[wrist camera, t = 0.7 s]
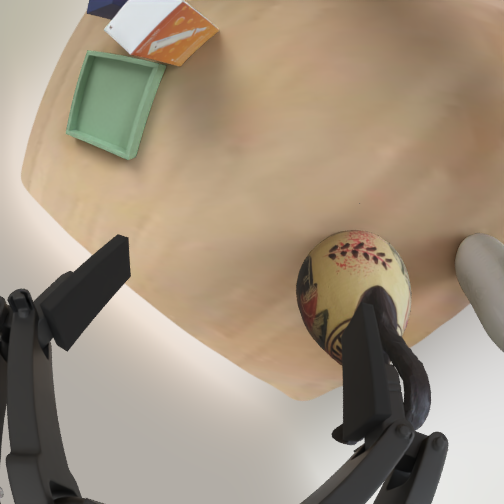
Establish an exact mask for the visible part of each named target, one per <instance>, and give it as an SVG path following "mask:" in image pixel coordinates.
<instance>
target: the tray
mask: <svg viewBox="0 0 504 504" xmlns="http://www.w3.org/2000/svg"><path fill="white" fill-rule="evenodd" d="M166 66H167V65H163V64H159V63H155V62H151V61H146V60H142V59H137V58H133V57H127V56H122V55H117V54H111V53H104V52H97V51H87V53H86V56H85V59H84V62H83V65H82V69H81V72H80V75H79V78H78V82H77V86H76V89H75V93H74V97H73V101H72V105H71V110H70V114H69V119H68V124H67V129H66V134H68V135H70V136H72V137H75V138H77V139H80V140H82V141H85V142H87V143H89V144H92V145H94V146H96V147H99V148H101V149H104V150H106V151H108V152H111V153H113V154H115V155H118V156H120V157H122V158H124V159H127V160H130V159H132V158H135V157H136V155H137V151H138V147H139V144H140V140H141V137H142V134H143V130H144V127H145V124H146V121H147V118H148V115H149V112H150V109H151V106H152V103H153V100H154V97H155V94H156V92H157V89H158V86H159V84H160V81H161V79H162V76H163V73H164V71H165V69H166Z"/></svg>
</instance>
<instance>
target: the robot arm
mask: <svg viewBox="0 0 504 504" xmlns="http://www.w3.org/2000/svg"><path fill="white" fill-rule="evenodd" d="M130 277H131V273H130V259H129V240H128V237H125V236H122V235H116V236H115V237H114V238H113V239H111V240H110V241H109V242H108V243H107V244H105V245H104V246H103V247H102V248H101V249H99V250H98V251H97V252H96V253H95V254H94V255H92V256H91V257H90V258H89V259H88V260H87V261H86V262H85V263H83V264H82V265H81V266H80V267H79V268H78V269H77V270H75V271H74V272H72V271H69V272H67V273H65V274H63V275H61V276H60V277H59V278H58V279H57V280H56V281H55V282H53V283H52V284H51V286H50V287H48V288H47V289H46V290H45V291H44V292H43V293H42V294H41V295H40V296H39V297H38V298H37V299H36V300H35V301H34V302H33V300H32V297H31V295H30V293H29V291H28V290H26V289H18V290H15V291H14V292H12V293H11V294H10V295H9V297H8V302H9V305H10V306H9V305H7V304H6V301H5V299H4V298H3V297H1V296H0V459H1V443H2V433H3V424H4V417H5V410H6V404H7V416H8V429H9V439H10V447H11V452H10V454H8V455H7V457H6V467H7V472H8V478H9V482H10V487H11V491H12V495H13V499H14V502H15V504H104V503H100V502H97V501H94V500H91V499H88V498H86V499H85V498H82V497H81V494H80V491H79V488H78V486H77V483H76V481H75V479H74V477H73V476H72V474H71V473H70V470H69V468H68V464H67V460H66V456H65V453H64V448H63V444H62V439H61V434H60V428H59V423H58V416H57V410H56V403H55V394H54V385H53V372H52V352H51V351H52V349H51V342H50V341H51V339H52V338H54V340H55V342H56V344H57V345H58V346H59V347H61V348H63V349H64V350H66V351H68V350H69V349H70V348H71V346H72V345H73V344H74V343H75V341H76V340H77V339H78V338H79V336H80V335H81V333H83V331H84V330H85V329H86V328H87V326H88V325H89V324H90V323H91V321H92V320H93V319H94V318H95V317H96V315H97V314H98V313H99V312H100V311H101V310H102V308H103V307H104V306H105V305H106V304H107V303H108V301H109V300H110V299H111V298H112V297H113V296H114V294H115V293H116V292H117V291H118V290H119V289H120V288H121V286H122V285H123V284H124V283H125V282H126V281H127V280H128V279H129V278H130ZM341 345H342V368H343V440H346V441H359V440H360V439H362V438H363V437H365V443H364V444H363V445H362V446H360V447H359V448H357V449H356V450H354V452H355V453H354V454H353V455H352V456H351V457H350V459H349V460H348V461H347V462H346V463H345V464H344V465H343V466H342V467H341V468H340V469H339V470H338V471H337V472H336V473H335V474H334V475H333V476H331V477H330V479H328V480H327V481H326V482H325V483H324V484H323V485H322V486H321V487H320V488H319V489H317V490H316V491H315V492H314V493H312V494H311V495H310V496H309V497H308V498H307V499H305V500H304V501H303V502H302V503H300V504H365V503H366V502H367V501H368V500H369V499H370V498H371V496H372V495H373V494H374V493H375V492H376V490H377V489H378V488H379V487H380V486H381V484H382V483H383V482H384V483H383V486H382V487H381V490H380V491H379V493H378V495H377V497H376V499H375V501H374V503H373V504H431V503H432V500H433V497H434V494H435V492H436V489H437V486H438V483H439V480H440V476H441V473H442V470H443V466H444V462H445V459H446V455H447V451H448V440H447V438H446V437H445V435H444V434H442V433H441V432H433V433H432V434H431V435H429V436H427V435H424V434H421V433H419V432H416V431H415V430H414V427H413V425H412V424H411V423H410V422H409V421H407V420H406V418H405V411H404V404H403V398H402V392H401V385H400V380H399V374H398V372H397V370H396V369H395V367H394V365H390V364H385V361H384V355H383V350H382V344H381V339H380V334H379V329H378V324H377V320H376V315H375V311H374V306H373V305H371V304H367V303H363V302H360V304H359V306H358V308H357V310H356V311H355V313H354V315H353V317H352V319H351V320H350V322H349V324H348V326H347V327H346V329H345V331H344V332H343V334H342V336H341ZM2 497H3V490H2V488H1V487H0V498H2ZM0 504H1V503H0Z"/></svg>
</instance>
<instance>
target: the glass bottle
mask: <svg viewBox="0 0 504 504" xmlns="http://www.w3.org/2000/svg"><path fill="white" fill-rule="evenodd" d="M455 271H456V276H457V279H458V281H459V284H460V286H461V288H462V290H463V291H464V293H465V295H466V296H467V298H468V300H469V301H470V303H471V305H472V306H473V308H474V310H475V312H476V314H477V316H478V318H479V320H480V322H481V324H482V325H483V327H484V329H485V331H486V332H487V334H488V335H489V337H490V338H491V339H492V341H493V342H494V343H495V344H496V345H497V346H498V347H499V348H500V349H501V350H502V351H503V352H504V245H503V244H502V243H501V242H500V241H499V240H497V239H496V238H494V237H492V236H490V235H487V234H483V233H476V234H473V235H470V236H468V237H467V238H466V239H464V241H463V242H462V243H461V244H460V246H459V248H458V251H457V254H456V258H455Z"/></svg>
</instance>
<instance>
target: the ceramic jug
mask: <svg viewBox="0 0 504 504" xmlns="http://www.w3.org/2000/svg"><path fill="white" fill-rule="evenodd" d="M359 204H360V203H359ZM411 294H412V293H411V286H410V280H409V276H408V273H407V269H406V267H405V265H404V262H403V260H402V259H401V257H400V255H399V254H398V252H397V251H396V250H395V248H394V247H393V246H392V245H391V244H390V243H388V242H387V241H386V240H384V239H382V238H380V237H379V236H378V235H375V234H373V233H370V232H367V231H358V230H351V231H342V232H338V233H336V234H333V235H332V236H330V237H328V238H327V239H325V240H323V241H322V242H321V243H319V244H318V245H317V246H316V247H315V248H314V249H313V250H312V251H311V252H310V253H309V254H308V256H307V257H306V259H305V260H304V262H303V264H302V266H301V269H300V272H299V275H298V280H297V285H296V295H297V302H298V307H299V310H300V313H301V316H302V319H303V322H304V324H305V326H306V328H307V330H308V332H309V333H310V335H311V336H312V337H313V339H314V340H315V341H316V342H317V343H318V345H319V346H320V347H321V348H322V349H323V350H325V351H326V352H327V353H328V354H329V355H330V356H331V357H332V358H333V359H334V360H335V361H337V362H338V363H339V364H340V365H342V345H341V336H342V334H343V332H344V331H345V329H346V327H347V326H348V324H349V322H350V320H351V319H352V317H353V315H354V313H355V311H356V310H357V308H358V306H359V304H360V302H363V303H367V304H371V305H373V306H374V311H375V315H376V320H377V324H378V329H379V334H380V339H381V344H382V350H383V355H384V361H385V364H390V362H391V361H392V363H393V365H394V366H395V367H396V369H397V371H398V373H399V375H400V377H401V378H402V380H403V384H404V403H403V404H404V411H405V418H406V420H407V421H409V422H410V423H411V424H412V425H413V427H414V430H417V429H418V428H420V427H421V426H422V424H423V423H424V422H425V420H426V418H427V416H428V413H429V410H430V405H431V390H430V384H429V380H428V376H427V373H426V371H425V369H424V366H423V363H421V362H420V361H419V360H418V358H417V357H416V356H415V355H414V354H413V352H412V350H411V349H410V348H409V347H408V346H407V345H406V343H405V341H404V340H403V338H402V335H403V333H404V330H405V328H406V326H407V322H408V318H409V315H410V310H411ZM332 437H333V438H334V439H335V440H336V441H338V442H340V443H343V444H347V445H355V444H356V443H357V442H358V441H346V440H343V424H341V425H340V426H339V427H337V428H336V429H334V430H333V432H332ZM363 438H364V437H363ZM363 438H362V439H363ZM362 439H360V440H359V441H361V440H362Z"/></svg>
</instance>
